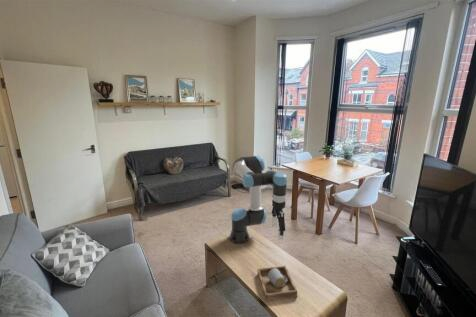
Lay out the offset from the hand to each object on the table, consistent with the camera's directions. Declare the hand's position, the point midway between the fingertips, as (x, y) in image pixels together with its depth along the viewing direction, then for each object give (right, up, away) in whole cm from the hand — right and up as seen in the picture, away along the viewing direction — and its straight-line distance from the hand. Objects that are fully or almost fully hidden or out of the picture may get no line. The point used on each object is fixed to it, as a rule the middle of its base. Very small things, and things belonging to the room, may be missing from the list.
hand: (277, 232), depth 138 cm
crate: (-1, -31, -2) cm, 31 cm away
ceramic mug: (0, -30, -1) cm, 30 cm away
